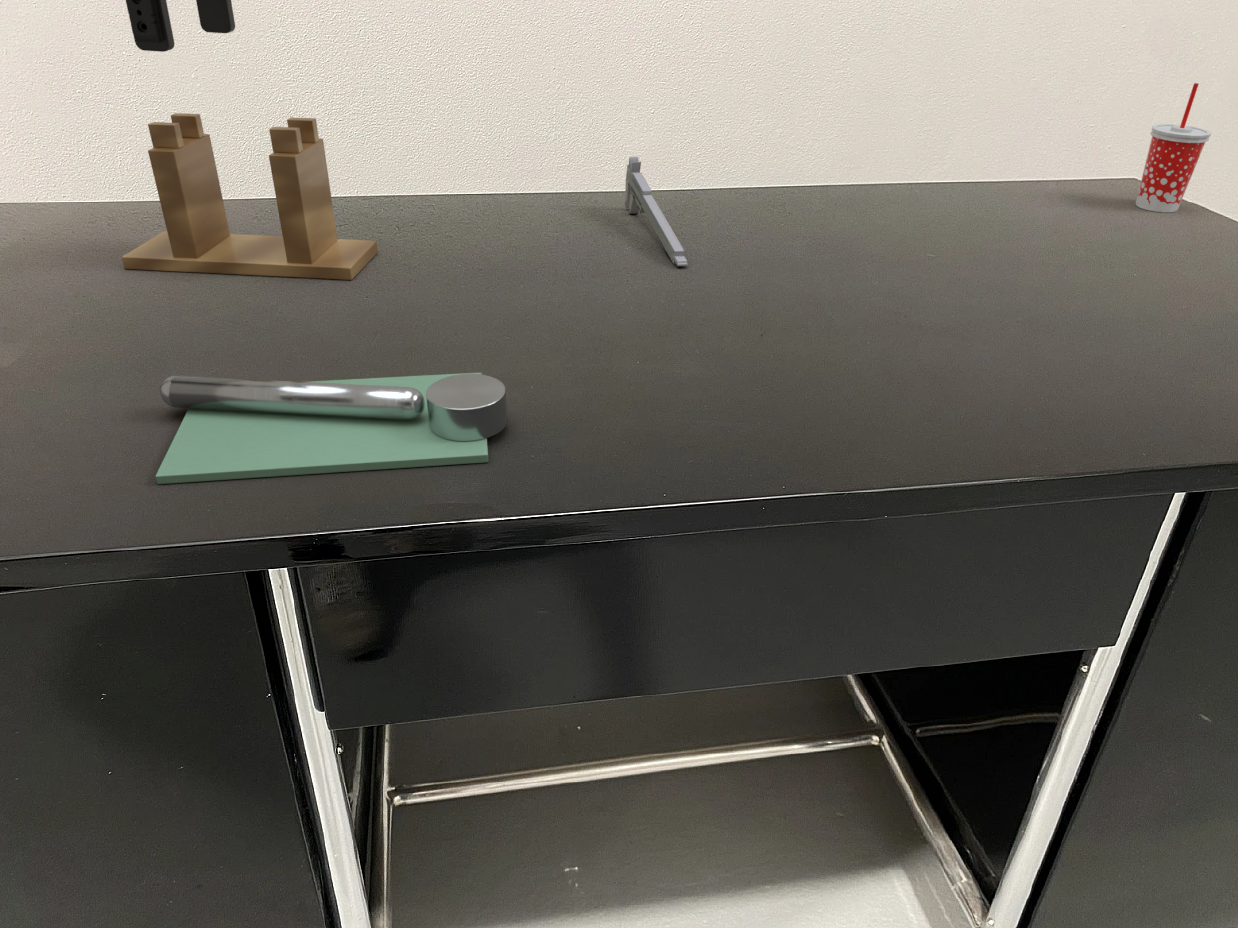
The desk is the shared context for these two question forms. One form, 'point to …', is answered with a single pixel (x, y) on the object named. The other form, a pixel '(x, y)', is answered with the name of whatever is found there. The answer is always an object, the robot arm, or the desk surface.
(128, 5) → the robot arm
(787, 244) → the desk surface
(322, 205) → the rack
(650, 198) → the caliper
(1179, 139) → the beverage cup
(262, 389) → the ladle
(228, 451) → the mat
